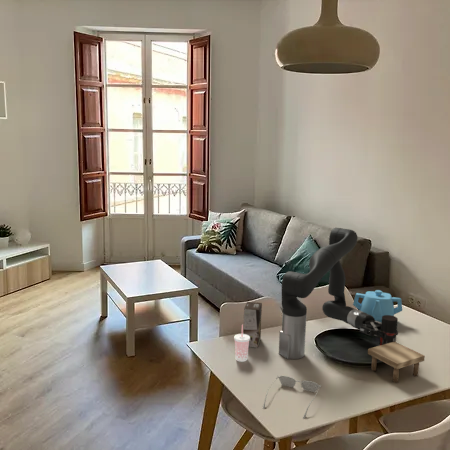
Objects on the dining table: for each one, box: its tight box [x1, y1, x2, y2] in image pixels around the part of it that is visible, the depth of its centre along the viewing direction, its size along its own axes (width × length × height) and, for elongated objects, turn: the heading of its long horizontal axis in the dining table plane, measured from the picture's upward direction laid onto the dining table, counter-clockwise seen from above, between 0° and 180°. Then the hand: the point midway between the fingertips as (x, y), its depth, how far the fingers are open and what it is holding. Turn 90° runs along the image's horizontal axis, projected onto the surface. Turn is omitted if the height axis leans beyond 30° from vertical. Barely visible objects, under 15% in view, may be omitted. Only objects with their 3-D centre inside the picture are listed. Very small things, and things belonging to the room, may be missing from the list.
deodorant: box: [379, 315, 399, 346], centre depth 210 cm, size 6×6×15 cm
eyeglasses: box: [262, 375, 322, 420], centre depth 174 cm, size 15×18×4 cm
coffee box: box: [243, 301, 263, 348], centre depth 218 cm, size 9×6×16 cm
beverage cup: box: [233, 323, 250, 363], centre depth 203 cm, size 6×6×14 cm
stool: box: [367, 341, 425, 384], centre depth 195 cm, size 14×14×8 cm
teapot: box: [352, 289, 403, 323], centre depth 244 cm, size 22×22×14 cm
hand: (391, 334), depth 209 cm, fingers closed on deodorant, 6 cm apart
